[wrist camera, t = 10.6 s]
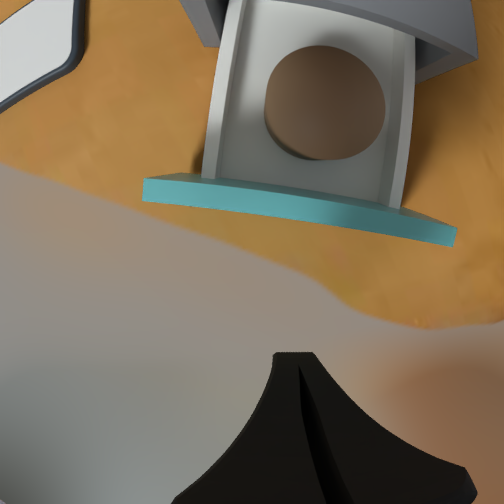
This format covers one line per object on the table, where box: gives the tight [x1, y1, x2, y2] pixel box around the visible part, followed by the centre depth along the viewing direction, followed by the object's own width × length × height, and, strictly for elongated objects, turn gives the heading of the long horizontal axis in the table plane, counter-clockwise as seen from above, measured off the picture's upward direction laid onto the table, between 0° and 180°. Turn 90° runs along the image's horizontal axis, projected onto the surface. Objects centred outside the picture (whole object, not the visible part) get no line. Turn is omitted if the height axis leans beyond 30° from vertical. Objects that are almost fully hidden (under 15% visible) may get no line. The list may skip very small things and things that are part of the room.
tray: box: [142, 0, 457, 247], centre depth 11 cm, size 12×12×5 cm
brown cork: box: [264, 45, 385, 161], centre depth 11 cm, size 4×4×4 cm
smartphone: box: [0, 0, 86, 114], centre depth 13 cm, size 9×2×16 cm
